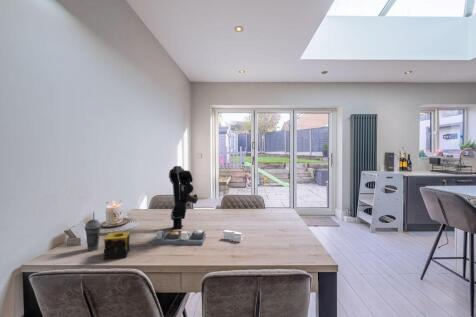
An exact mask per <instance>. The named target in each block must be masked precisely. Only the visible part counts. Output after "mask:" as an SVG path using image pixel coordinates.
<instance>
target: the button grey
mask: <svg viewBox="0 0 476 317" xmlns="http://www.w3.org/2000/svg"><path fill="white" fill-rule="evenodd" d="M193 231H194V235H202V231H203V230H202V229H194V230H193Z"/></svg>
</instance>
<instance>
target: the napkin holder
mask: <svg viewBox="0 0 476 317" xmlns="http://www.w3.org/2000/svg"><path fill="white" fill-rule="evenodd" d="M222 234H223V238H222V239H223V240H224V239H229V240H228V241H232V240H234V241H242V242H243V232H239V231H235V230H227V229H225V230H223V232H222ZM234 241H233V242H234Z"/></svg>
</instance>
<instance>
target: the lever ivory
mask: <svg viewBox="0 0 476 317" xmlns="http://www.w3.org/2000/svg"><path fill="white" fill-rule="evenodd" d="M188 233H189V231H188V230H183V231H181V240H187V239H188Z"/></svg>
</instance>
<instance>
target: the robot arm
mask: <svg viewBox="0 0 476 317" xmlns="http://www.w3.org/2000/svg"><path fill="white" fill-rule="evenodd" d="M168 179H169V182H170V183H171V185H172V192H173V193H172V194H173V206H172V208H171V213H170V220H172V227H171V230H181V229H183V227H184V225H183V220H185V219H186V218H185V217H186V212H187V209H188V207H189V206H190V203H193V204H195V205H196V204H197V202H198V200H199V197H198V195H197V194H196V193H195V194H193V195H192V194H191V193H192V192H193V191H194V186H193V185H192V184H191V183H193V175H192V174H191V171H190V170H185V169H184V168H182V166H181V165H175V166H173V167H172V168H171V169H170V170H169V172H168ZM188 202H189V203H188Z"/></svg>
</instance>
